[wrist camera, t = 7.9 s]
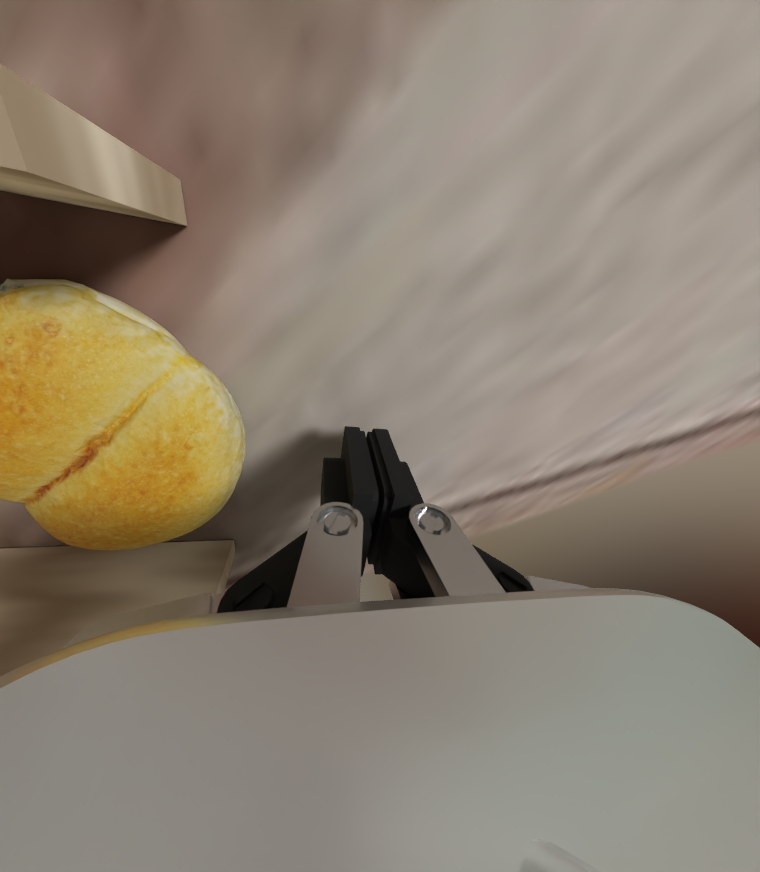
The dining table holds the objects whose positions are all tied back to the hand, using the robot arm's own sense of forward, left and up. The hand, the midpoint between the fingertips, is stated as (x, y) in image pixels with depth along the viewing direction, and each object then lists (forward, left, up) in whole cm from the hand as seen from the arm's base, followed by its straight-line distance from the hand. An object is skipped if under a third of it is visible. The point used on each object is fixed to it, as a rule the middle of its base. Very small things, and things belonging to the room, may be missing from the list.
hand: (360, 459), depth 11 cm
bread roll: (-9, +1, -2) cm, 9 cm away
